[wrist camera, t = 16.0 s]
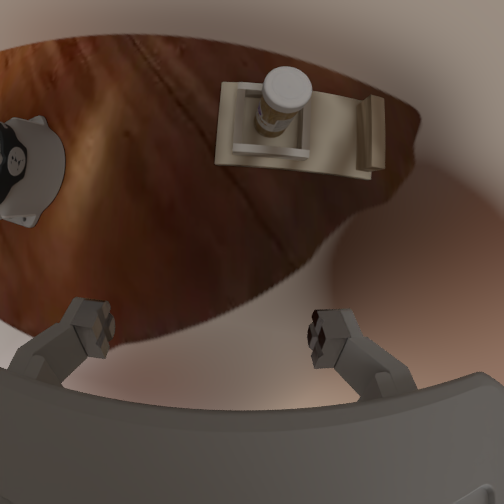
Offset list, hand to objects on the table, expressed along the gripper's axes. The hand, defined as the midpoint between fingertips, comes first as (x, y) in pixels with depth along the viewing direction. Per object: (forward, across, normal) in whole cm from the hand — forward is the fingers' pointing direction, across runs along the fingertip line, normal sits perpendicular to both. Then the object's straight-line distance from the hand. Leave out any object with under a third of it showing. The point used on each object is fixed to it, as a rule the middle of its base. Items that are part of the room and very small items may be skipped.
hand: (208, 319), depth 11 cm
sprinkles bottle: (+32, -6, -4) cm, 32 cm away
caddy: (+33, -10, -3) cm, 34 cm away
